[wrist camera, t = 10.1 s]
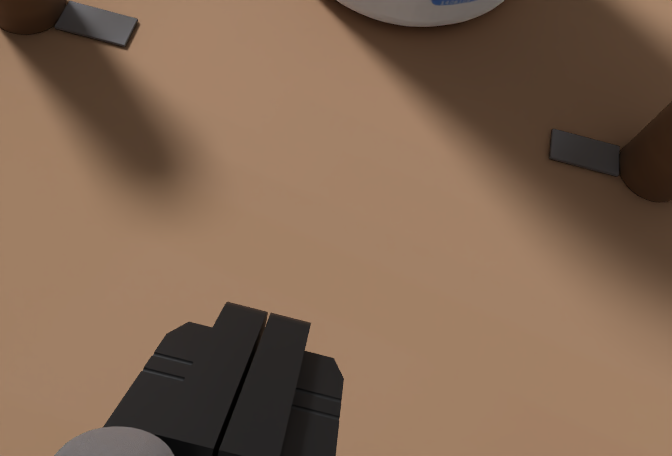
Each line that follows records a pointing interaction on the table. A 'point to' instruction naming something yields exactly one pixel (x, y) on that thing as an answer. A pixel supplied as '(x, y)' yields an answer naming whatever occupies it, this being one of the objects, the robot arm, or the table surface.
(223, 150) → the table surface
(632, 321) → the table surface
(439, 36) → the table surface
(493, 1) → the supplement tub
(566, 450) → the table surface
